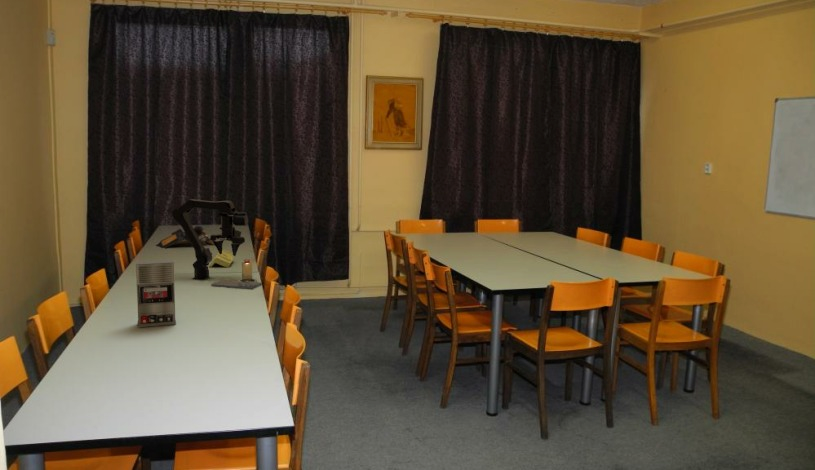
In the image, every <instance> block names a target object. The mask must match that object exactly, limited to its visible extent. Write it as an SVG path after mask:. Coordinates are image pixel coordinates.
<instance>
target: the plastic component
mask: <svg viewBox="0 0 815 470" xmlns="http://www.w3.org/2000/svg"><path fill="white" fill-rule="evenodd" d="M234 258H235V256H233V252H230V251H228V250H226V249H223V248H222V254H220V253H219V251H218V253H217V254H216V256H215V257H214V258H213V259H212V261H211V262H210V263H209V265H208V268H212V267H213V266H214V265H215V264H217V265H220V266H222V267H224V268H230V265H231V264H232V262H233V260H234Z"/></svg>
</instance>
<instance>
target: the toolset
mask: <svg viewBox="0 0 815 470" xmlns="http://www.w3.org/2000/svg"><path fill="white" fill-rule="evenodd" d="M193 229H194V230H195V232H196V234H197V236H198V238H199V240H200V241H201V240H205V242H206V243H207V245H209V246H215V244H214V243H213V242H212V240H210V236H209V235H207V234H206V230H205V228H203V227H202V226H200V225H196V226H195V227H193ZM181 241H182V242H183V241H186V242H188V243H189V245H192V244H191V242H190V241H189V239H188V237H187V235H186V233H185V232H184V230H183V229H182V228H178V229H177V230H176V231H173V232H171V234H170V235H169V236H168V237H165V238H164V239H162V240H160V241H159V242H158V243H157V244H156V245H155V246H157V247H158V246H159V247H160V248H161V249H164V248H165V249H167V248H168V247H171V246H172V245H175V244H177V243H179V242H181Z"/></svg>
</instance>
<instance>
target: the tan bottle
mask: <svg viewBox="0 0 815 470" xmlns="http://www.w3.org/2000/svg"><path fill="white" fill-rule="evenodd" d="M241 279H242V282H253V279H254V278H253V262H252V261H250V259H248V258H246V259H243V262H241Z"/></svg>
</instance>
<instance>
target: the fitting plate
mask: <svg viewBox="0 0 815 470" xmlns="http://www.w3.org/2000/svg"><path fill="white" fill-rule="evenodd" d="M252 279H253V282H242V278H241V279H237V280H234V279H233V280H232V279H219V280H217V281H215V282H212V283H211V284H210V287H215V288H218V287H219V288H220V287H221V288H229V289H238V290H240V289H241V290H252V291H253V290H255V289H256V288H258V287H260V286H262V285H263V283H262V282H258V279H257V278H252Z"/></svg>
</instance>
